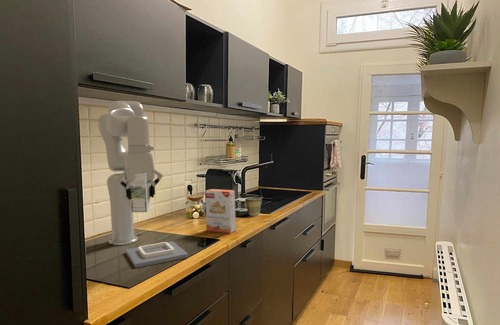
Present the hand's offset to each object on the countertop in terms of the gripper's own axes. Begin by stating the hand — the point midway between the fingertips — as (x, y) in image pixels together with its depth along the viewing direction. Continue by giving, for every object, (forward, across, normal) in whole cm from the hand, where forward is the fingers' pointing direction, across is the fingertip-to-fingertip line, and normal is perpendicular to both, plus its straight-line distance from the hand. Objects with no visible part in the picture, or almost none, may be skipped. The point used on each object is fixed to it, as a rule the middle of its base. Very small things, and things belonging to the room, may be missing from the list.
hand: (140, 197), depth 126 cm
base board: (+25, -6, -7) cm, 27 cm away
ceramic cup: (+26, -76, -52) cm, 96 cm away
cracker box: (+26, -43, -26) cm, 57 cm away
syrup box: (+5, 0, 0) cm, 5 cm away
